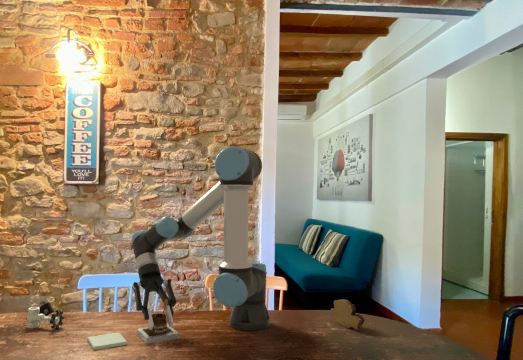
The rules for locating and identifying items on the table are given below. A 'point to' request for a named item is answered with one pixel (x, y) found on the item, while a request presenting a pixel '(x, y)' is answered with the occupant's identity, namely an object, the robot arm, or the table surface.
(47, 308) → the lighter
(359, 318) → the wooden carving
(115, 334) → the green tile
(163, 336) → the grey square frame
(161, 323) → the utensil holder
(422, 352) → the table surface
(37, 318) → the valve
